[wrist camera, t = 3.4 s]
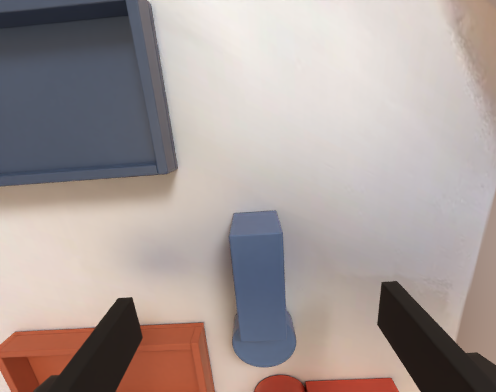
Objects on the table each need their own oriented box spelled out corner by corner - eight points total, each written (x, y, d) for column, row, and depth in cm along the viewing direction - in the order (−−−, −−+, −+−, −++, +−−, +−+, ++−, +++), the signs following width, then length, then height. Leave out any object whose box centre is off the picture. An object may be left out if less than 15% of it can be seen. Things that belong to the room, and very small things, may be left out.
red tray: (203, 322, 19) (198, 343, 17) (216, 400, 22) (213, 426, 20) (15, 331, 20) (-10, 352, 18) (49, 406, 22) (31, 431, 20)
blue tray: (150, 4, 13) (134, -17, 11) (178, 168, 15) (168, 174, 13) (-123, 32, 13) (-183, 17, 11) (-52, 186, 16) (-92, 193, 14)
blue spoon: (220, 213, 16) (212, 237, 13) (289, 209, 16) (299, 231, 13) (236, 348, 20) (233, 394, 16) (293, 345, 19) (302, 392, 16)
